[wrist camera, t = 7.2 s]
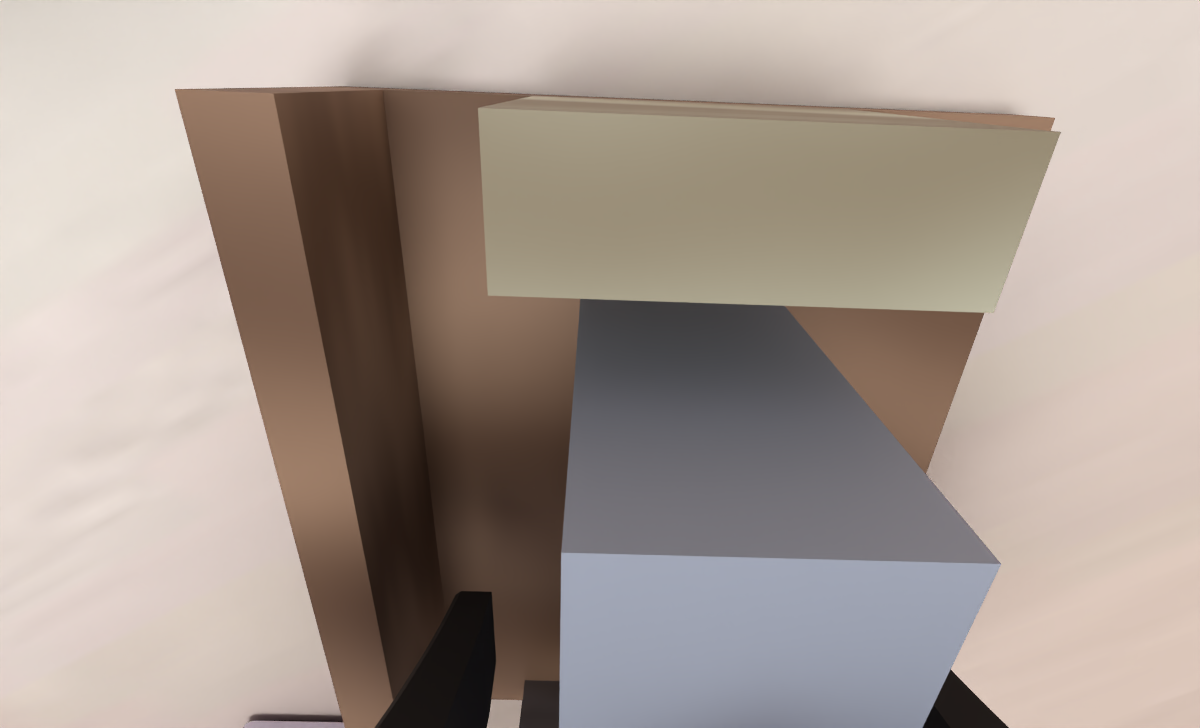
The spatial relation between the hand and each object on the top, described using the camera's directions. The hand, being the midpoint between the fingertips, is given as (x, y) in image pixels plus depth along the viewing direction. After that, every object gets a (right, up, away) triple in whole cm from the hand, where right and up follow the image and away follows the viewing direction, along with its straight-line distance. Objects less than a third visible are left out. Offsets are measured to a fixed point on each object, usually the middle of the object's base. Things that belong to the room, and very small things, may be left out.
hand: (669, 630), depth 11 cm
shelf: (0, +3, +4) cm, 5 cm away
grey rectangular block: (0, +2, +4) cm, 4 cm away
